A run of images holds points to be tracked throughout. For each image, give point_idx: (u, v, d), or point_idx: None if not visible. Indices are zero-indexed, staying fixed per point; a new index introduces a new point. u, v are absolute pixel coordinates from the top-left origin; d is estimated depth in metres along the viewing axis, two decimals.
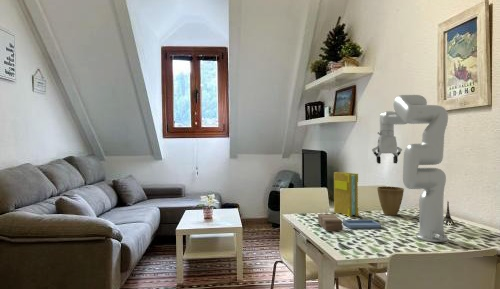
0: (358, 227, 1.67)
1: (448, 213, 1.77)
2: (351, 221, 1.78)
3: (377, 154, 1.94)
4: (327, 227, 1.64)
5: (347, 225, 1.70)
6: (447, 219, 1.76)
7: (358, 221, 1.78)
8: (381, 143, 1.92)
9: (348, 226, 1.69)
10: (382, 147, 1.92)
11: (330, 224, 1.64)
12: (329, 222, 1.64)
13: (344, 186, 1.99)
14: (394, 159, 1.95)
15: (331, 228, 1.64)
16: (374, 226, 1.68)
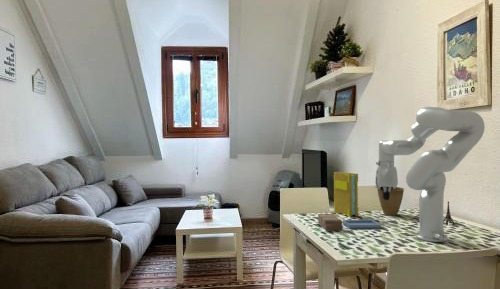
0: (358, 227, 1.67)
1: (448, 213, 1.77)
2: (351, 221, 1.78)
3: (383, 190, 1.73)
4: (327, 227, 1.64)
5: (347, 225, 1.70)
6: (447, 219, 1.76)
7: (358, 221, 1.78)
8: (380, 175, 1.71)
9: (348, 226, 1.69)
10: (381, 180, 1.71)
11: (330, 224, 1.64)
12: (329, 222, 1.64)
13: (344, 186, 1.99)
14: None
15: (331, 228, 1.64)
16: (374, 226, 1.68)
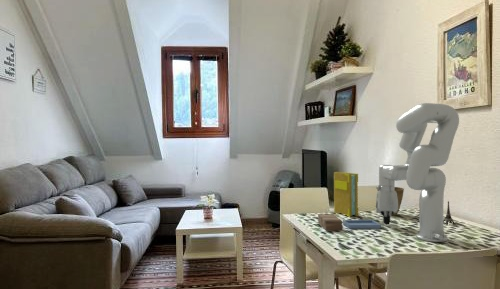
0: (358, 227, 1.67)
1: (448, 213, 1.77)
2: (351, 221, 1.78)
3: (383, 215, 1.73)
4: (327, 227, 1.64)
5: (347, 225, 1.70)
6: (447, 219, 1.76)
7: (358, 221, 1.78)
8: (380, 200, 1.71)
9: (348, 226, 1.69)
10: (381, 204, 1.71)
11: (330, 224, 1.64)
12: (329, 222, 1.64)
13: (344, 186, 1.99)
14: None
15: (331, 228, 1.64)
16: (374, 226, 1.68)
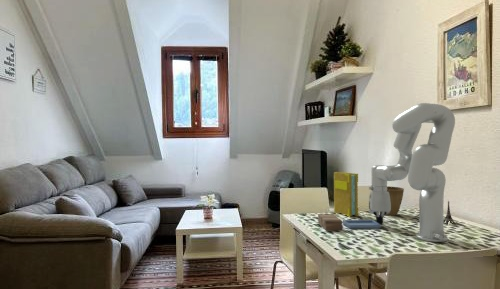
0: (358, 227, 1.67)
1: (449, 213, 1.77)
2: (351, 221, 1.78)
3: (376, 215, 1.72)
4: (327, 227, 1.64)
5: (347, 225, 1.70)
6: (447, 219, 1.76)
7: (358, 221, 1.78)
8: (373, 200, 1.71)
9: (348, 226, 1.69)
10: (374, 205, 1.71)
11: (330, 224, 1.64)
12: (329, 222, 1.64)
13: (344, 186, 1.99)
14: None
15: (331, 228, 1.64)
16: (374, 226, 1.68)
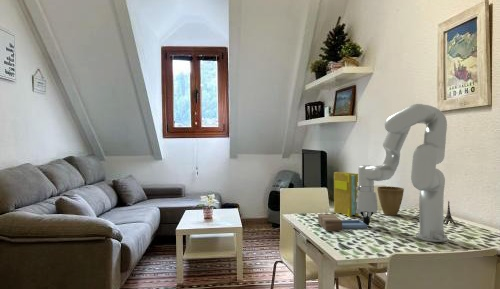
0: (344, 227, 1.67)
1: (449, 213, 1.77)
2: None
3: (363, 215, 1.72)
4: (327, 227, 1.64)
5: None
6: (448, 219, 1.76)
7: (345, 221, 1.78)
8: (359, 200, 1.71)
9: None
10: (360, 205, 1.70)
11: (330, 224, 1.64)
12: (329, 222, 1.64)
13: (344, 186, 1.99)
14: None
15: (331, 228, 1.64)
16: (360, 226, 1.67)
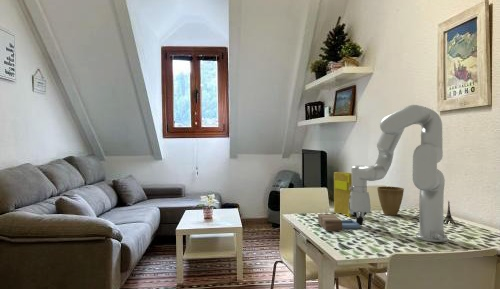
0: None
1: (449, 213, 1.77)
2: None
3: (356, 216, 1.72)
4: (327, 227, 1.64)
5: None
6: (448, 219, 1.76)
7: None
8: (352, 201, 1.71)
9: None
10: (353, 205, 1.70)
11: (330, 224, 1.64)
12: (329, 222, 1.64)
13: (344, 186, 1.99)
14: None
15: (331, 228, 1.64)
16: (353, 226, 1.67)
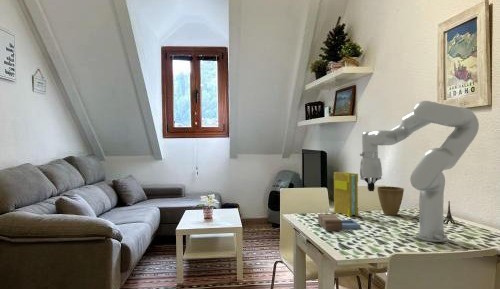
0: None
1: (449, 213, 1.77)
2: None
3: (367, 182, 1.72)
4: (327, 227, 1.64)
5: None
6: (448, 219, 1.77)
7: None
8: (364, 166, 1.71)
9: None
10: (365, 171, 1.70)
11: (330, 224, 1.64)
12: (329, 222, 1.64)
13: (344, 186, 1.99)
14: None
15: (331, 228, 1.64)
16: (353, 226, 1.67)
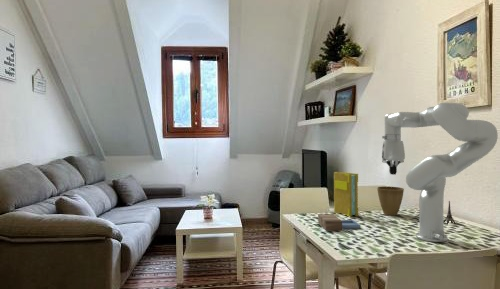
0: None
1: (449, 213, 1.77)
2: None
3: (389, 165, 1.69)
4: (327, 227, 1.64)
5: None
6: (448, 219, 1.77)
7: None
8: (386, 149, 1.67)
9: None
10: (387, 153, 1.67)
11: (330, 224, 1.64)
12: (329, 222, 1.64)
13: (344, 186, 1.99)
14: None
15: (331, 228, 1.64)
16: (353, 226, 1.67)
